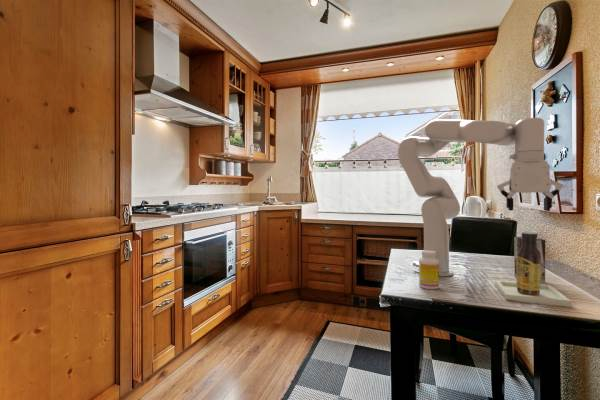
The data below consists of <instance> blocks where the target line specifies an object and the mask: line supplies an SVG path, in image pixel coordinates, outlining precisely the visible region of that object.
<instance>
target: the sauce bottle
mask: <svg viewBox="0 0 600 400" xmlns="http://www.w3.org/2000/svg"><path fill="white" fill-rule="evenodd" d="M521 237H522V246H521V248H520V251H519V253H518V255H517V278H516V280H515V282H516V286H517V291H518V292H520V293H523V294H527V295H538V294H539V293H540V291H539V290H540V277H541V254H540V252H539V251H538V249H537V245H536V242H537V238H538V232H532V231H523V232H521Z"/></svg>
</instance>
